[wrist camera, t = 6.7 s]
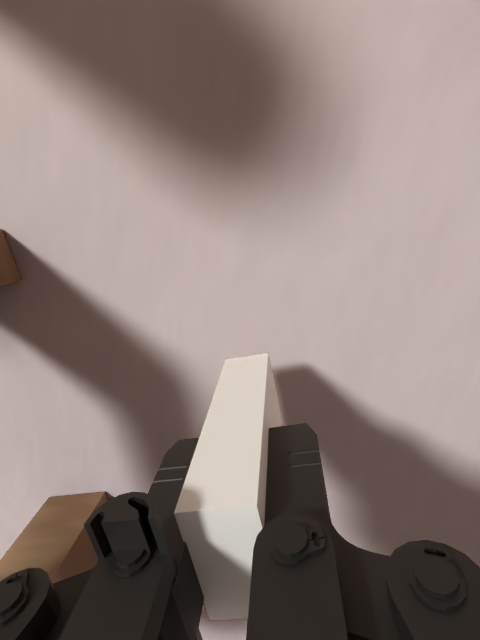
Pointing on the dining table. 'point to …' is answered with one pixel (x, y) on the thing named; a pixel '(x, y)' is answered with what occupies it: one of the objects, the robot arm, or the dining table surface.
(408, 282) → the dining table surface
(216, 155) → the dining table surface
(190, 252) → the dining table surface
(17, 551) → the bridge
